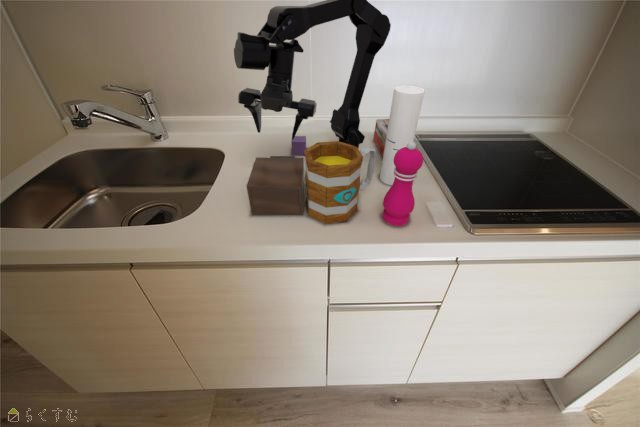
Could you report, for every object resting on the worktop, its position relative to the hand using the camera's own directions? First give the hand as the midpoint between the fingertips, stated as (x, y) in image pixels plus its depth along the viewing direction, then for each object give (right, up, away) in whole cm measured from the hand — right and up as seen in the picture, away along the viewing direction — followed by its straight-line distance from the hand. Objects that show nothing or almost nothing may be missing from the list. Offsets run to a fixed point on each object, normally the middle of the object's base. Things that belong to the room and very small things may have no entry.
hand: (276, 135), depth 76 cm
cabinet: (+1, -17, 0) cm, 17 cm away
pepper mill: (+30, -22, -6) cm, 38 cm away
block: (+5, 0, +21) cm, 21 cm away
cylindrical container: (+33, -11, +8) cm, 36 cm away
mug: (+17, -18, -2) cm, 25 cm away
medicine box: (+36, +5, +20) cm, 41 cm away
